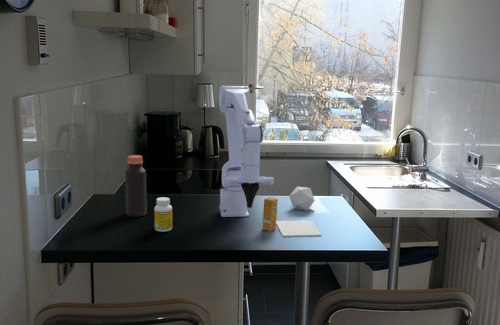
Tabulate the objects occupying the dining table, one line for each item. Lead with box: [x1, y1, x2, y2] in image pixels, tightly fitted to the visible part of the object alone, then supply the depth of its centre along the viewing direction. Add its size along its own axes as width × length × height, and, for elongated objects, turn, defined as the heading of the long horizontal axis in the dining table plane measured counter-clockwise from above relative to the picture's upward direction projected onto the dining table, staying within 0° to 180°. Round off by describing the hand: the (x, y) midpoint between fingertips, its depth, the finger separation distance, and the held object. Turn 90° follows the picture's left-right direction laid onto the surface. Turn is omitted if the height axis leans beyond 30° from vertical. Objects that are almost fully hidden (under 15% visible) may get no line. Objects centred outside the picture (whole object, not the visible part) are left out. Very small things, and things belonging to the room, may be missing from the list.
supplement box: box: [262, 196, 278, 232], centre depth 155 cm, size 3×3×10 cm
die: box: [288, 186, 315, 212], centre depth 178 cm, size 8×9×10 cm
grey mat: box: [276, 219, 323, 238], centre depth 157 cm, size 12×14×1 cm
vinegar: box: [124, 154, 148, 218], centre depth 167 cm, size 7×7×20 cm
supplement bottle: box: [153, 196, 173, 233], centre depth 153 cm, size 5×5×10 cm
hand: (249, 206), depth 154 cm, fingers closed
